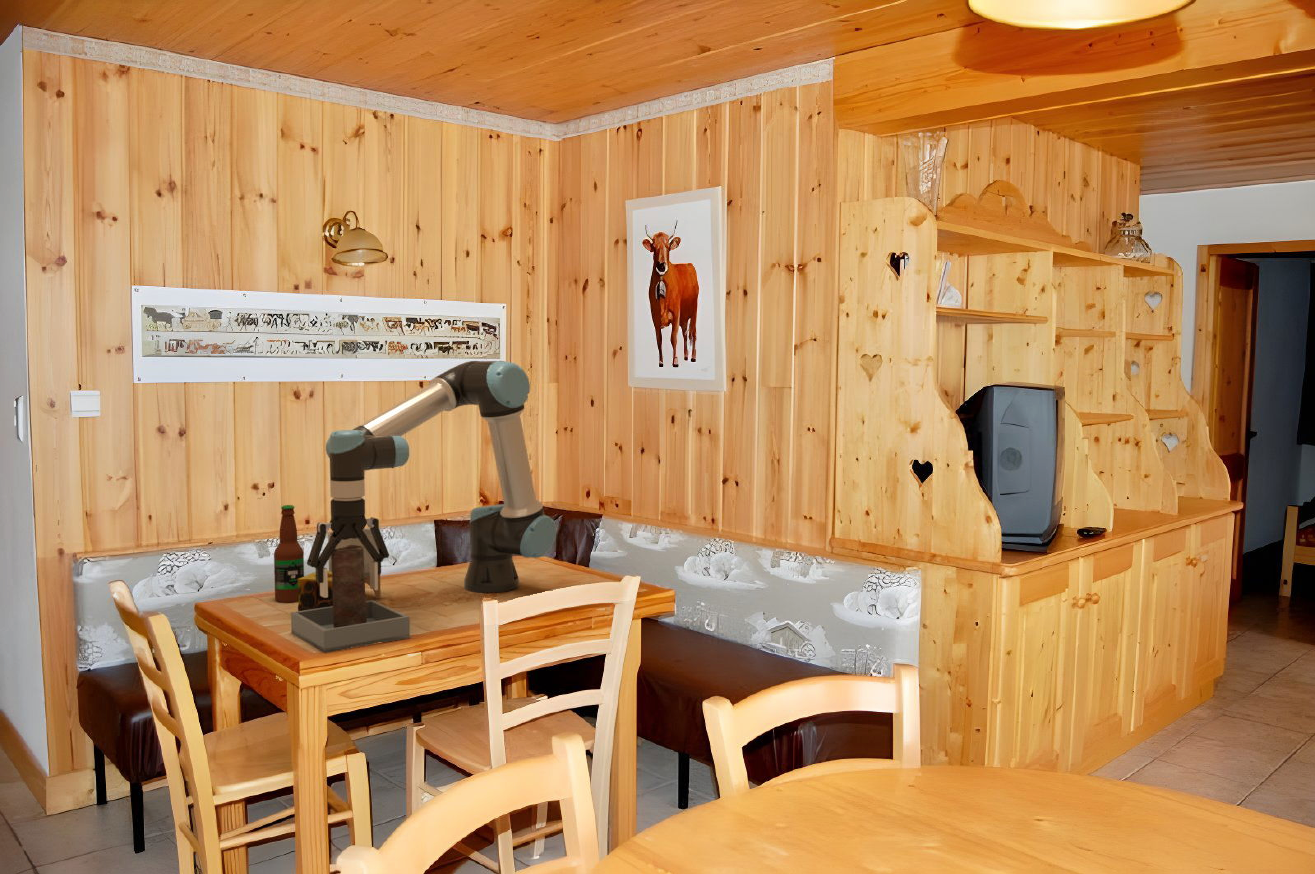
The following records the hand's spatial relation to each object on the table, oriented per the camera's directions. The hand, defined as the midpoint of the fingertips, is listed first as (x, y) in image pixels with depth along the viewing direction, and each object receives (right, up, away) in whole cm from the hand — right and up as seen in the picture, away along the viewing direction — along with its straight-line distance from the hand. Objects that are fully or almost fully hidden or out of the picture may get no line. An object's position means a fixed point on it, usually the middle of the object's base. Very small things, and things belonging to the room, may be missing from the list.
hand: (349, 592), depth 240 cm
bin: (0, -10, +1) cm, 10 cm away
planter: (-9, -7, +36) cm, 38 cm away
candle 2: (0, -9, +1) cm, 9 cm away
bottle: (-26, -7, +34) cm, 43 cm away
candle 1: (-11, -9, +20) cm, 25 cm away
